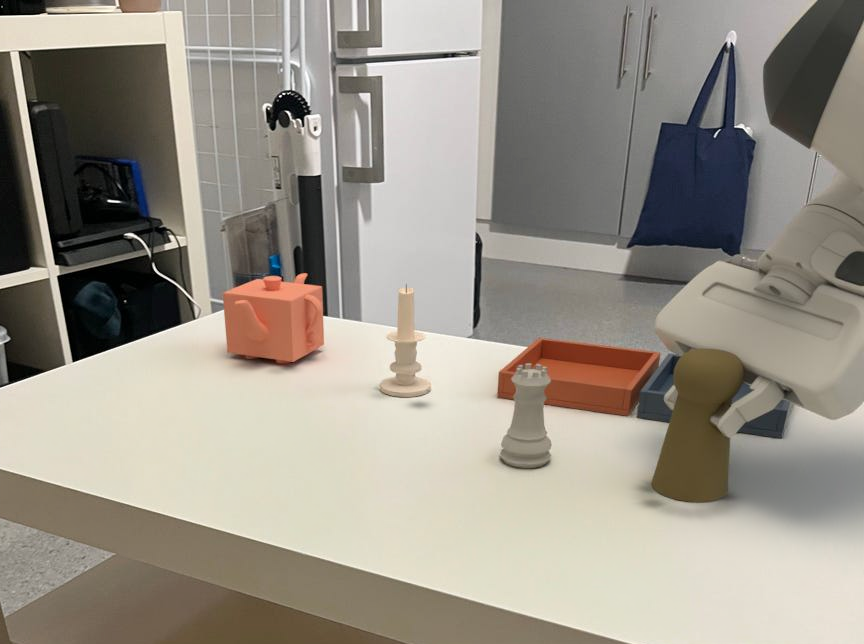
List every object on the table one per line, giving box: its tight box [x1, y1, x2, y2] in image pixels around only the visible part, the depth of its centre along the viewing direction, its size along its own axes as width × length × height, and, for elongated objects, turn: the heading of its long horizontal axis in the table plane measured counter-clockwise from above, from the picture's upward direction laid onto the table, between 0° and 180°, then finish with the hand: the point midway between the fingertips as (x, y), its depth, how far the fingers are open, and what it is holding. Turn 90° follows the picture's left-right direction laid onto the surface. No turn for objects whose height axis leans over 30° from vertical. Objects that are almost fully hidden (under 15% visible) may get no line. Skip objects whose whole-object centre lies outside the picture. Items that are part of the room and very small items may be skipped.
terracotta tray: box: [497, 337, 661, 417], centre depth 103 cm, size 13×13×3 cm
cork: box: [650, 349, 745, 503], centre depth 80 cm, size 6×6×11 cm
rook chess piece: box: [499, 364, 552, 469], centre depth 85 cm, size 4×4×8 cm
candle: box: [379, 283, 432, 398], centre depth 101 cm, size 5×5×10 cm
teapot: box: [222, 272, 325, 364], centre depth 112 cm, size 12×15×8 cm
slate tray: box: [636, 353, 794, 439], centre depth 98 cm, size 13×13×3 cm
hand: (694, 418), depth 79 cm, fingers open, 4 cm apart
